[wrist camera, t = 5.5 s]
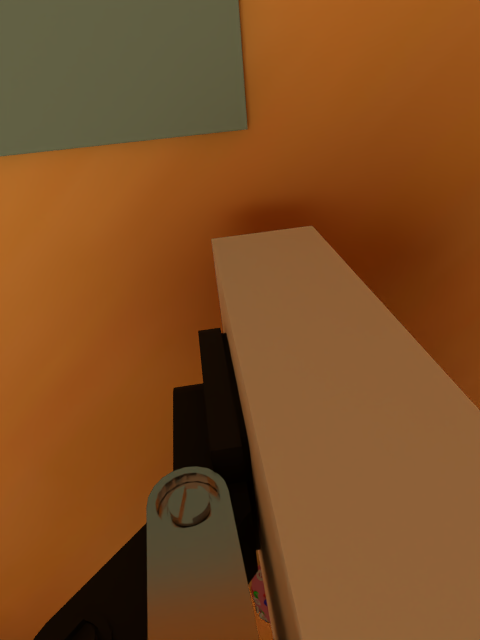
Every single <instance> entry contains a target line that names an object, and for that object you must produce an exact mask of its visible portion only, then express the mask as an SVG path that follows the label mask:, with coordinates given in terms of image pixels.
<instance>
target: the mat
mask: <svg viewBox="0 0 480 640" xmlns="http://www.w3.org/2000/svg"><path fill="white" fill-rule="evenodd" d="M245 129H247V115H246V101H245V87H244V73H243V59H242V45H241V30H240V16H239V2H238V0H0V156H7V155H17V154H26V153H35V152H44V151H53V150H62V149H71V148H81V147H90V146H99V145H108V144H117V143H126V142H135V141H144V140H154V139H163V138H172V137H181V136H190V135H199V134H208V133H218V132H227V131H236V130H245Z"/></svg>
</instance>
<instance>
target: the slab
mask: <svg viewBox="0 0 480 640" xmlns="http://www.w3.org/2000/svg"><path fill="white" fill-rule="evenodd" d="M211 241H212V249H213V256H214V264H215V272H216V280H217V287H218V295H219V303H220V311H221V318H222V326H223V333H226V334H227V339H228V344H229V348H230V353H231V358H232V363H233V368H234V373H235V378H236V383H237V388H238V392H239V397H240V402H241V407H242V412H243V417H244V422H245V427H246V432H247V437H248V443H249V449H250V457H251V465H252V474H253V483H254V492H255V501H256V510H257V519H258V528H259V537H260V546H261V549H260V550H258V554H259V560H260V566H261V571H262V577H263V583H264V588H265V594H266V600H267V605H268V611H269V617H270V622H271V628H272V633H273V639H274V640H480V410H479V409H478V408H477V407H476V406H475V405H474V404H473V402H472V401H471V400H470V399H469V398H468V397H467V396H466V395H465V394H464V392H463V391H462V390H461V389H460V388H459V387H458V386H457V385H456V384H455V383H454V381H453V380H452V379H451V378H450V377H449V376H448V375H447V374H446V373H445V372H444V370H443V369H442V368H441V367H440V366H439V365H438V364H437V363H436V362H435V361H434V359H433V358H432V357H431V356H430V355H429V354H428V353H427V352H426V351H425V349H424V348H423V347H422V346H421V345H420V344H419V343H418V342H417V341H416V340H415V338H414V337H413V336H412V335H411V334H410V333H409V332H408V331H407V330H406V329H405V327H404V326H403V325H402V324H401V323H400V322H399V321H398V320H397V319H396V317H395V316H394V315H393V314H392V313H391V312H390V311H389V310H388V309H387V308H386V306H385V305H384V304H383V303H382V302H381V301H380V300H379V299H378V298H377V297H376V295H375V294H374V293H373V292H372V291H371V290H370V289H369V288H368V287H367V286H366V284H365V283H364V282H363V281H362V280H361V279H360V278H359V277H358V276H357V274H356V273H355V272H354V271H353V270H352V269H351V268H350V267H349V266H348V265H347V263H346V262H345V261H344V260H343V259H342V258H341V257H340V256H339V255H338V254H337V252H336V251H335V250H334V249H333V248H332V247H331V246H330V245H329V244H328V243H327V241H326V240H325V239H324V238H323V237H322V236H321V235H320V234H319V233H318V231H317V230H316V229H315V228H314V227H313V226H305V227H298V228H290V229H283V230H275V231H267V232H260V233H252V234H245V235H237V236H230V237H222V238H214V239H211Z"/></svg>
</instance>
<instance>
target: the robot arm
mask: <svg viewBox="0 0 480 640" xmlns="http://www.w3.org/2000/svg"><path fill="white" fill-rule="evenodd" d="M198 333H199V343H200V353H201V364H202V374H203V383H202V384H196V385H189V386H183V387H176V388H174V390H173V472H171V473H169V474H168V475H166V476H165V477H163V478H162V479H161V480H160V481H159V482H158V483H157V484H156V485H155V486H154V487H153V489H152V491H151V493H150V495H149V497H148V502H147V523H146V524H145V525H144V526H143V527H142V528H141V529H140V530H139V531H138V532H137V533H136V534H135V535H134V536H133V537H132V538H131V539H130V540H129V541H128V542H127V543H126V544H125V545H124V546H123V547H122V548H121V549H120V550H119V551H118V552H117V553H116V554H115V555H114V556H113V557H112V558H111V559H110V560H109V561H108V562H107V563H106V564H105V565H104V566H103V567H102V568H101V569H100V570H99V571H98V572H97V573H96V574H95V575H94V576H93V577H92V578H91V579H90V580H89V581H88V582H87V583H86V584H85V585H84V586H83V587H82V588H81V589H80V590H79V591H78V592H77V593H76V594H75V595H74V596H73V597H72V598H71V599H70V600H69V601H68V602H67V603H66V604H65V605H64V606H63V607H62V608H61V609H60V610H59V611H58V612H57V613H56V614H55V615H54V616H53V617H52V618H51V619H50V620H49V621H48V622H47V623H46V624H45V625H44V627H43V628H42V629H41V630H40V632H39V633H38V634H37V635H36V636H35V638H34V640H259V635H258V631H257V626H256V621H255V616H254V611H253V606H252V602H251V597H250V592H249V587H248V584H249V583H250V582H251V580H252V579H253V577H254V576H255V575H256V573H257V572H258V563H257V555H256V550H260V549H261V546H260V537H259V528H258V519H257V510H256V501H255V492H254V483H253V474H252V465H251V457H250V449H249V443H248V437H247V432H246V427H245V422H244V417H243V412H242V407H241V402H240V397H239V392H238V388H237V383H236V378H235V373H234V368H233V363H232V358H231V353H230V348H229V344H228V339H227V334H226V333H221V330H220V328H215V329H208V330H201V331H198Z"/></svg>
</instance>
